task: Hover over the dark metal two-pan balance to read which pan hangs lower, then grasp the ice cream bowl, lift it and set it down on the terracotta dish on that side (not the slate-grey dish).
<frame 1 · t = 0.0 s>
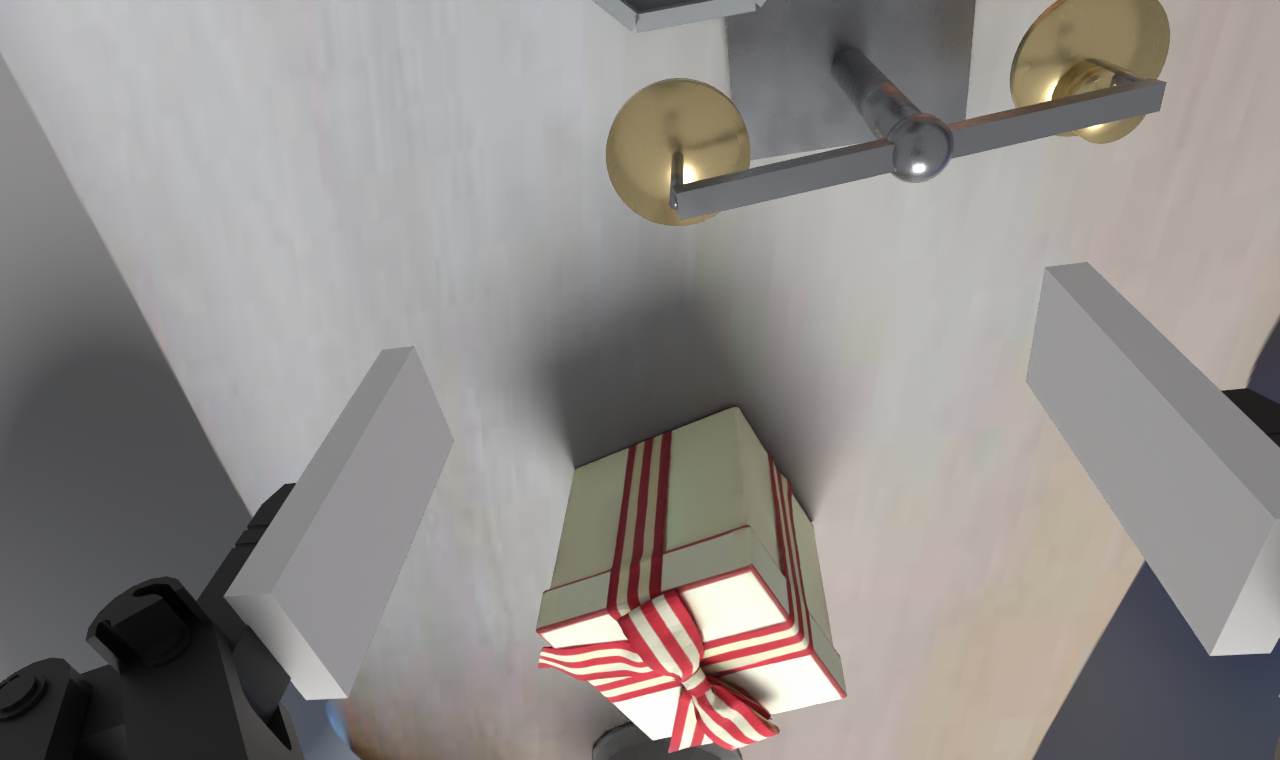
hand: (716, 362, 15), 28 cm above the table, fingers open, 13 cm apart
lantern: (680, 757, 81), on the table
gift box: (684, 506, 58), on the table
balance: (844, 62, 37), on the table
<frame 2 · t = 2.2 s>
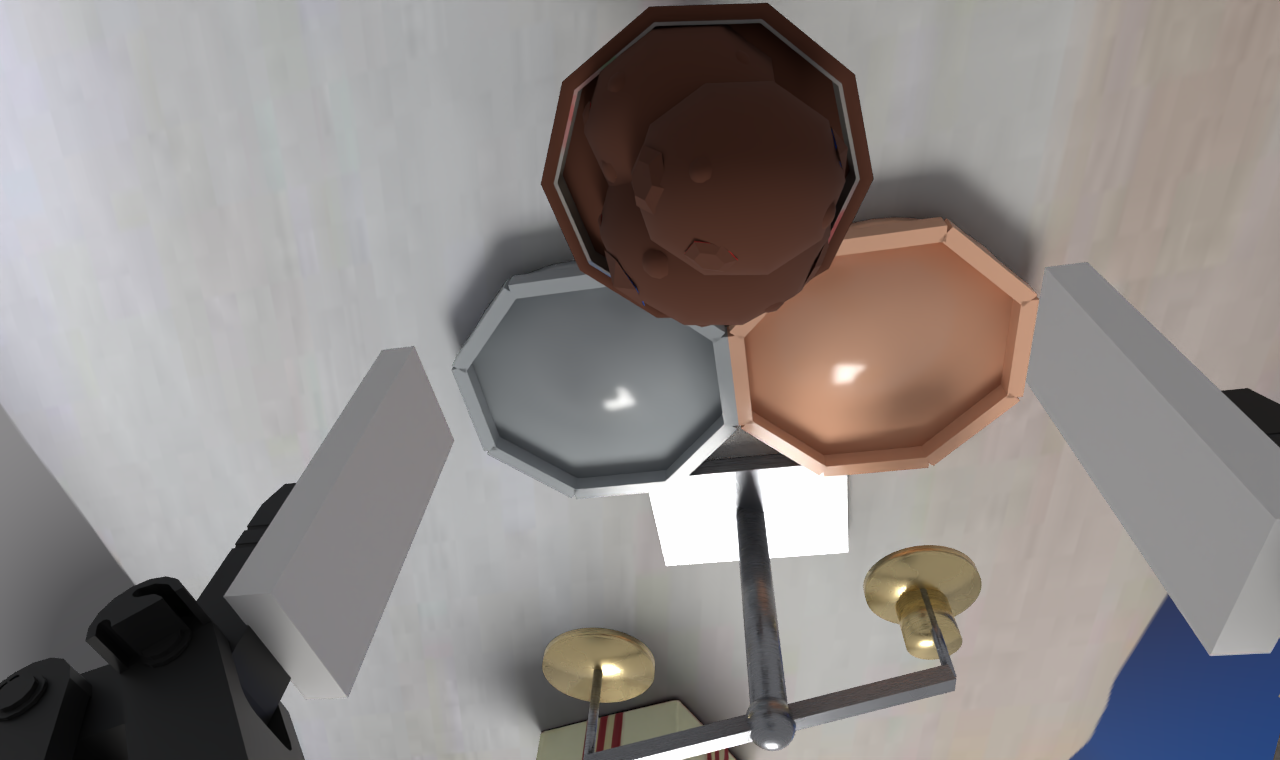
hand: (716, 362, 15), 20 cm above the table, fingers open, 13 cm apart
ice cream bowl: (700, 105, 32), on the table
terracotta dish: (870, 348, 38), on the table
slate dish: (600, 379, 40), on the table
gift box: (638, 755, 66), on the table
balance: (748, 503, 46), on the table
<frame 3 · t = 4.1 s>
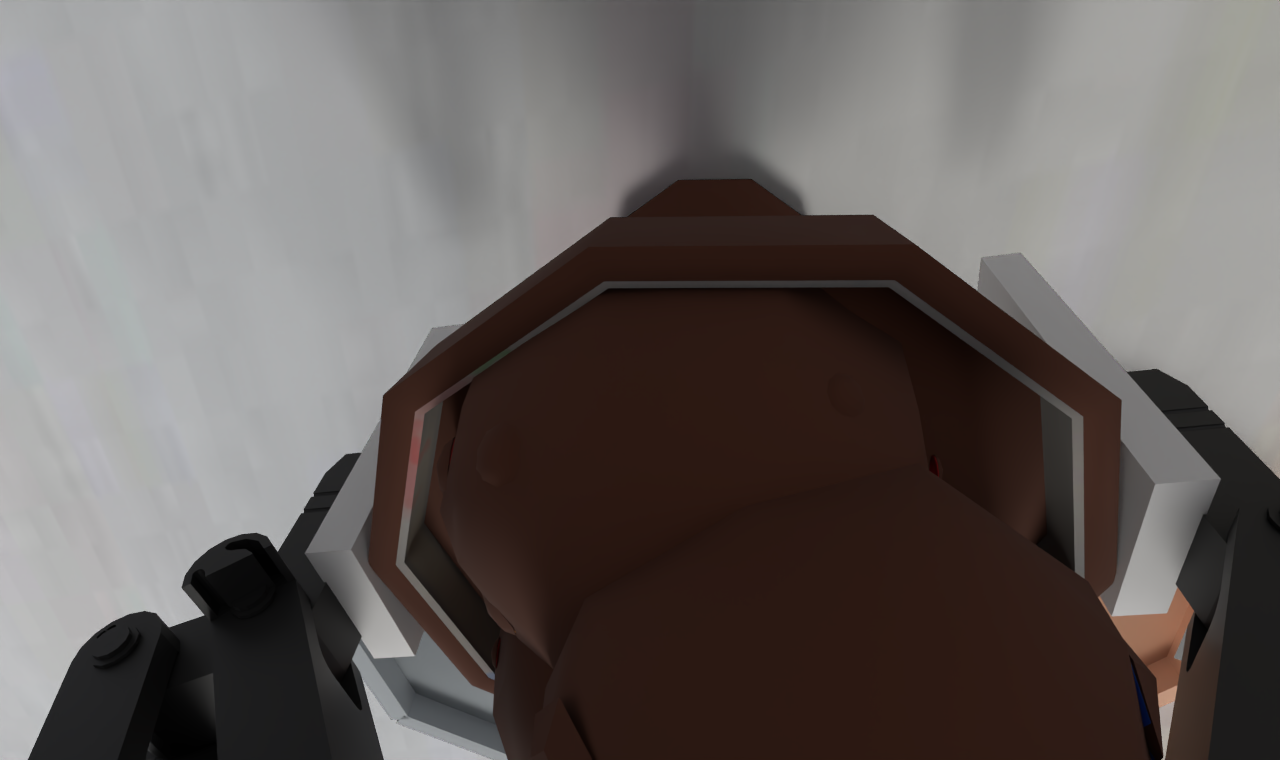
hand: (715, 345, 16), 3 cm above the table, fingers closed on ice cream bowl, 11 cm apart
ice cream bowl: (711, 276, 18), on the table, touching gripper
terracotta dish: (968, 600, 25), on the table
slate dish: (559, 625, 27), on the table
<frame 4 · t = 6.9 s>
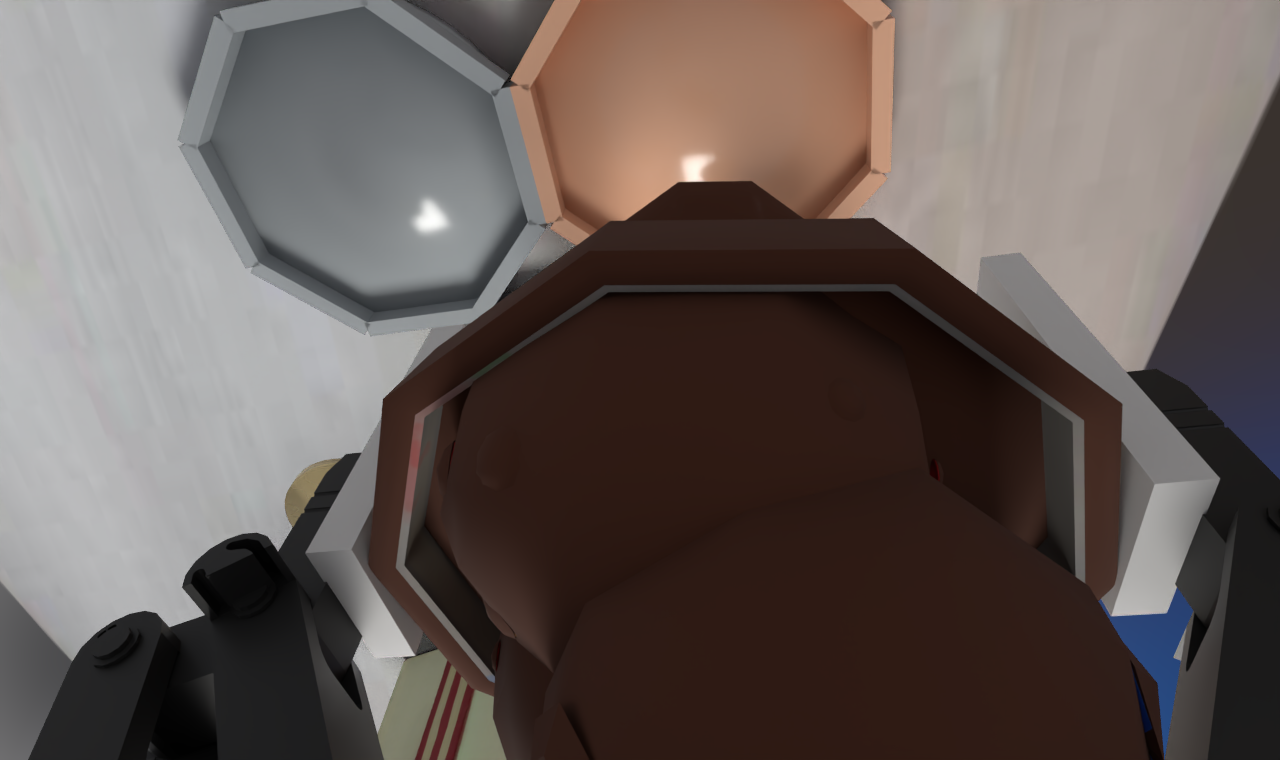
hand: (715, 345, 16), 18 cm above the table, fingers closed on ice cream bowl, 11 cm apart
ice cream bowl: (711, 278, 18), point 15 cm above the table, touching gripper
terracotta dish: (703, 118, 30), on the table
slate dish: (380, 171, 33), on the table
gift box: (519, 688, 58), on the table
balance: (589, 349, 38), on the table
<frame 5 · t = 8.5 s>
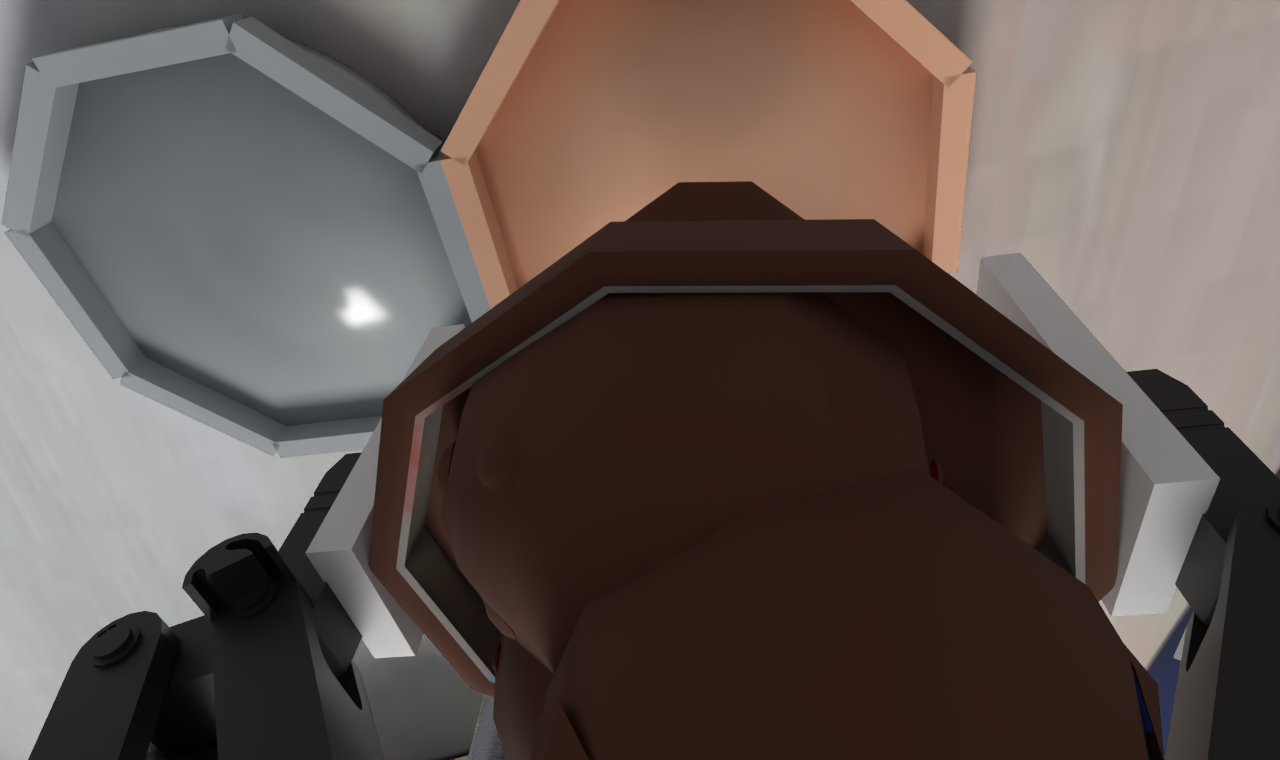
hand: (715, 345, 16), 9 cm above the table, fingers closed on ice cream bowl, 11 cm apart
ice cream bowl: (711, 278, 18), point 6 cm above the table, touching gripper
terracotta dish: (704, 195, 23), on the table
slate dish: (282, 258, 25), on the table
balance: (561, 466, 30), on the table
when the fingers open (6 cm above the table, at t = 9.7 s): ice cream bowl drops 2 cm, resting on terracotta dish.
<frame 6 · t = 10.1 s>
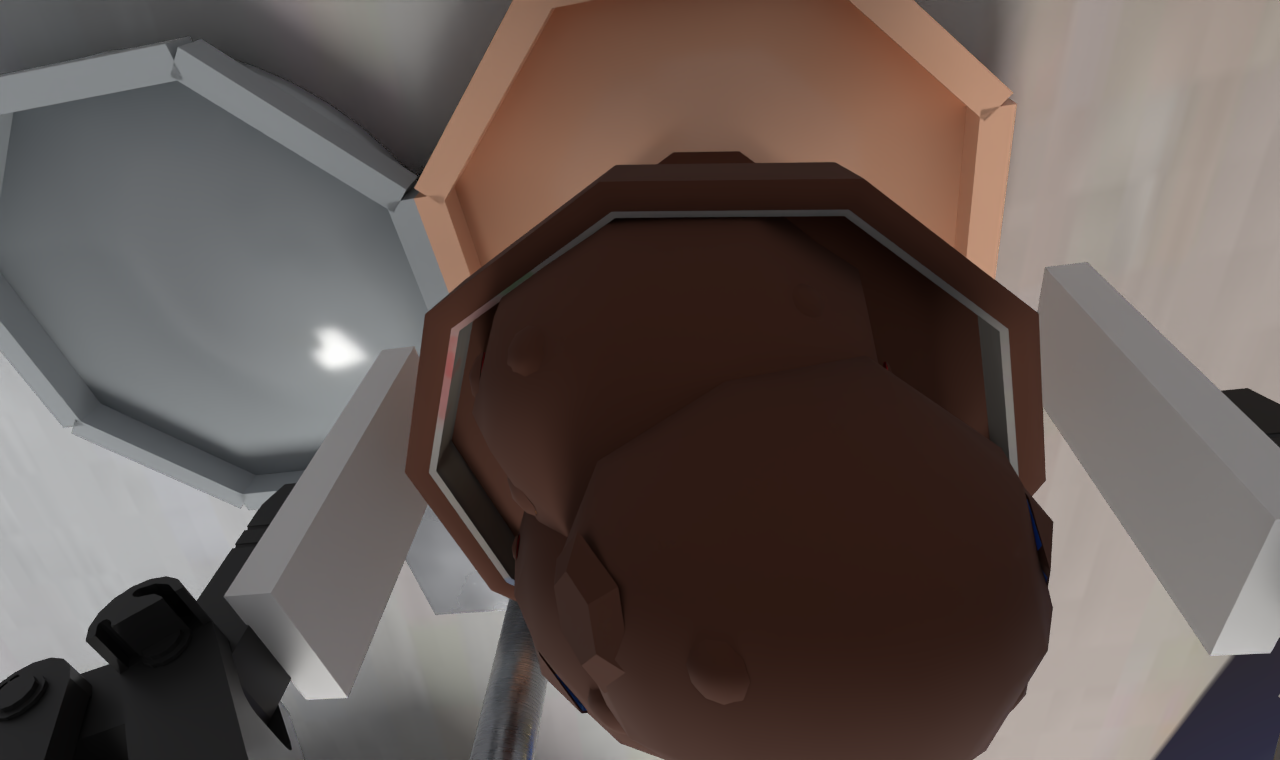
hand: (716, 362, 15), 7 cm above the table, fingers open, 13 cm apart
ice cream bowl: (703, 242, 20), point 1 cm above the table, touching terracotta dish
terracotta dish: (708, 234, 21), on the table
slate dish: (246, 298, 23), on the table
balance: (552, 517, 28), on the table
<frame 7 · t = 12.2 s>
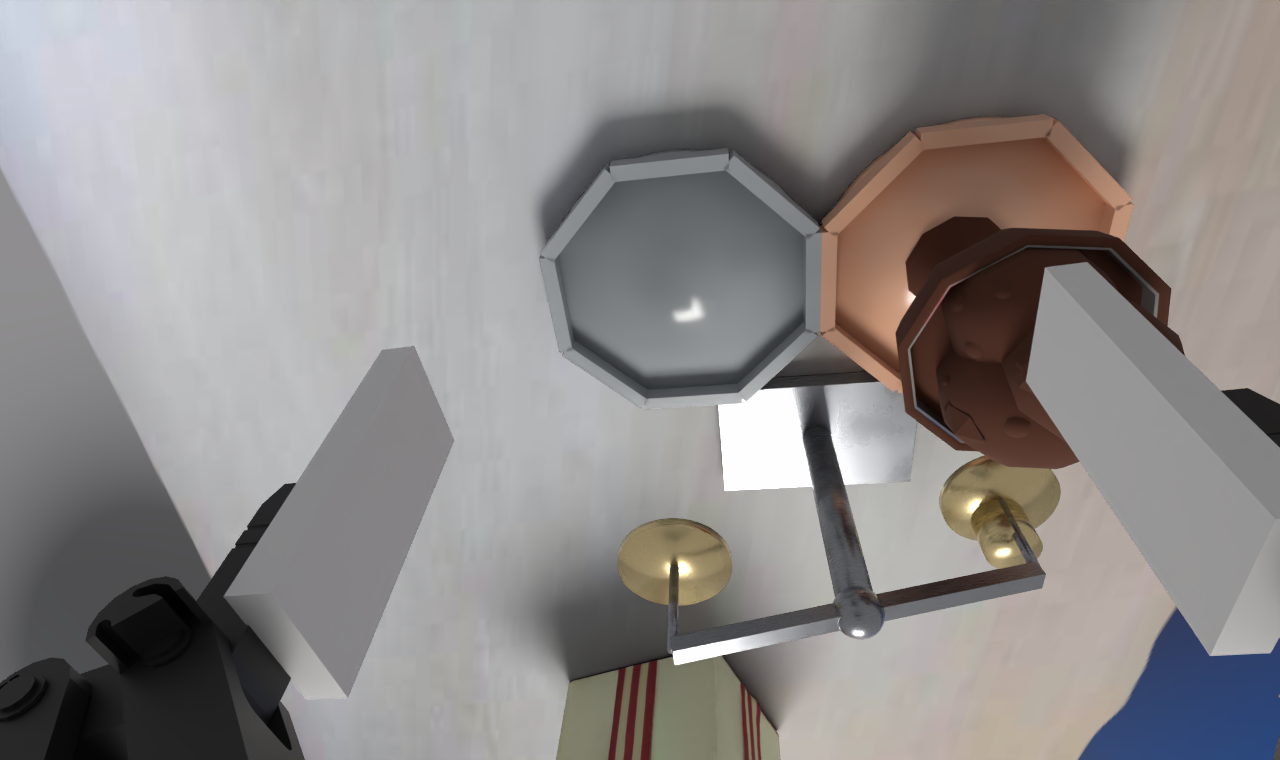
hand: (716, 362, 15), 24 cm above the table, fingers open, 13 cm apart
ice cream bowl: (956, 262, 38), point 1 cm above the table, touching terracotta dish
terracotta dish: (955, 258, 39), on the table
slate dish: (682, 282, 40), on the table
gift box: (665, 712, 65), on the table
balance: (814, 426, 45), on the table
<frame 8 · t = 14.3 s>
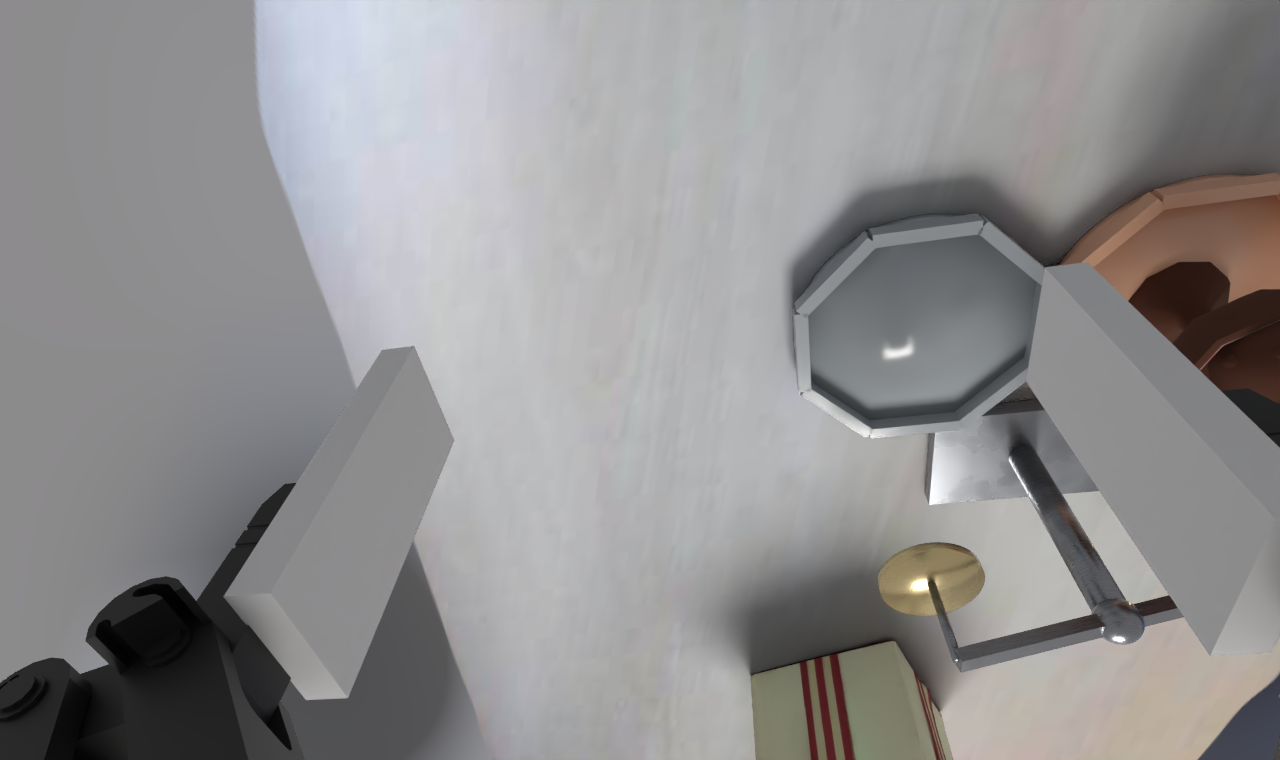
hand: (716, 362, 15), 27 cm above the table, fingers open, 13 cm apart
ice cream bowl: (1173, 300, 42), point 1 cm above the table, touching terracotta dish
terracotta dish: (1170, 296, 43), on the table
slate dish: (913, 326, 45), on the table
gift box: (835, 698, 70), on the table
balance: (1016, 445, 50), on the table
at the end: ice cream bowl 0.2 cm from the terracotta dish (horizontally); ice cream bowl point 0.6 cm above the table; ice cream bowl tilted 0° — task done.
